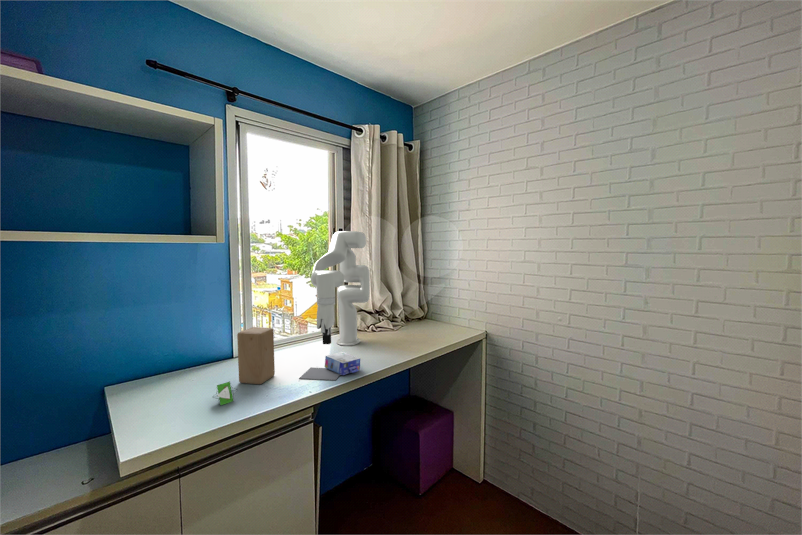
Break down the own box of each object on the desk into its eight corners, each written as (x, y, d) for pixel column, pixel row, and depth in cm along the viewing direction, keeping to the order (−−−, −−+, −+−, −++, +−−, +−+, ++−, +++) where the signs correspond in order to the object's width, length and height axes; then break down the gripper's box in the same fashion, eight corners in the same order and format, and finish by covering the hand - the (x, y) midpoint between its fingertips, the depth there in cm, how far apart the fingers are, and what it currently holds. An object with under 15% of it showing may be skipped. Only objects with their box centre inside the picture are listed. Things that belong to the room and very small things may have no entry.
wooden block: (261, 385, 129) (259, 333, 128) (237, 383, 131) (235, 332, 130) (275, 375, 139) (274, 327, 138) (254, 373, 141) (252, 326, 140)
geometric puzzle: (208, 395, 116) (213, 380, 112) (229, 388, 121) (234, 374, 118) (215, 412, 113) (220, 398, 109) (236, 405, 118) (242, 391, 114)
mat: (310, 368, 147) (310, 367, 147) (344, 369, 145) (344, 368, 145) (299, 379, 135) (299, 378, 135) (335, 380, 133) (335, 379, 133)
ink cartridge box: (324, 368, 145) (345, 377, 135) (324, 355, 145) (346, 363, 135) (342, 363, 152) (364, 371, 143) (342, 351, 152) (364, 358, 142)
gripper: (323, 298, 152) (324, 338, 153) (310, 304, 137) (311, 348, 138) (339, 298, 151) (340, 339, 152) (328, 304, 136) (329, 349, 138)
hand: (327, 343), depth 145 cm, fingers closed
